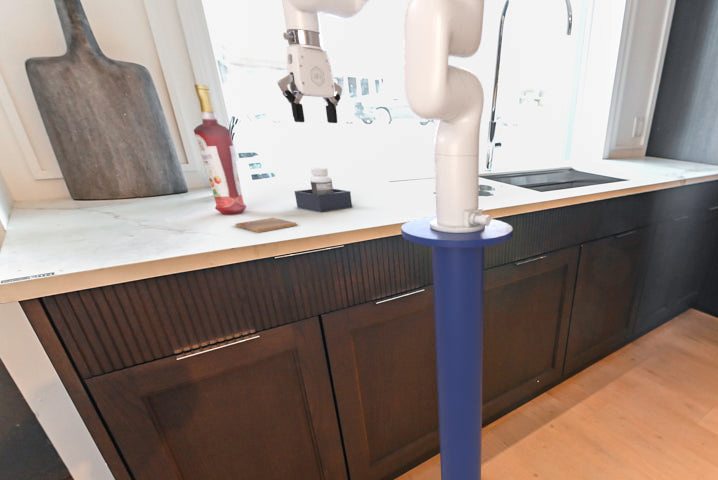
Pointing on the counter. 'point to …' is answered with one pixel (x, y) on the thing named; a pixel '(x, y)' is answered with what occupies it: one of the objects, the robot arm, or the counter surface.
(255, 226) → the coaster
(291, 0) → the robot arm
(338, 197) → the bin
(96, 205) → the counter surface
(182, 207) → the counter surface
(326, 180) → the pill bottle
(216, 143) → the liquor
